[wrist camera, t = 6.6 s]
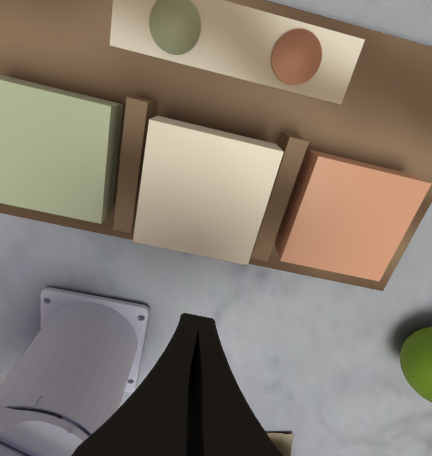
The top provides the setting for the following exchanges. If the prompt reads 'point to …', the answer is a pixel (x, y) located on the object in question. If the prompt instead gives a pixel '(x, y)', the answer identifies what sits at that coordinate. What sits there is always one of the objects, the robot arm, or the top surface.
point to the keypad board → (232, 91)
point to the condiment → (282, 442)
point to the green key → (58, 150)
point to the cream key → (203, 190)
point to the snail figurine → (418, 361)
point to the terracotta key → (347, 215)
